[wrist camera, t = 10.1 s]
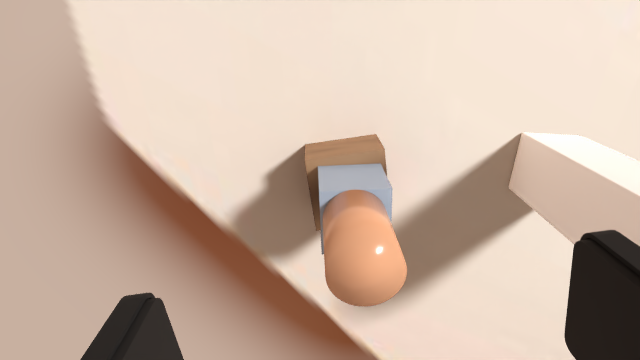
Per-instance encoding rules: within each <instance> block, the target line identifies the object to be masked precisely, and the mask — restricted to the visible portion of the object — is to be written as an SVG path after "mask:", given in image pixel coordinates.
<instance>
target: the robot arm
mask: <svg viewBox="0 0 640 360" xmlns="http://www.w3.org/2000/svg"><path fill="white" fill-rule="evenodd" d="M565 342H566V345H567V347H568V349H569V351H570V352H571V354H572V355H573V356H574V358H575V359H576V360H640V246H638V245H637V244H635V243H634V242H633V241H631V240H630V239H628V238H627V237H625V236H624V235H623V234H621V233H620V232H618V231H616V230H605V231H597V232H590V233H585V234H583V235H582V237H581V239H580V241H577V242H576V243H575V244H574V249H573V259H572V268H571V278H570V287H569V297H568V306H567V316H566V325H565ZM81 360H184V359H183V356H182V354H181V351H180V348H179V346H178V343H177V340H176V337H175V335H174V332H173V329H172V326H171V323H170V320H169V317H168V315H167V313H166V309H165V306H164V304H163V301H162V300H161V299H160V298H155V297H154V295H153V294H152V293H143V294H135V295H128V296H124V297H123V298H122V299H121V300H120V301H119V303H118V304H117V306H116V307H115V309H114V310H113V312H112V313H111V315H110V316H109V318H108V319H107V321H106V322H105V324H104V325H103V327H102V328H101V330H100V331H99V333H98V334H97V336H96V337H95V339H94V340H93V342H92V343H91V345H90V346H89V348H88V349H87V351H86V352H85V354H84V355H83V357H82V358H81Z"/></svg>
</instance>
